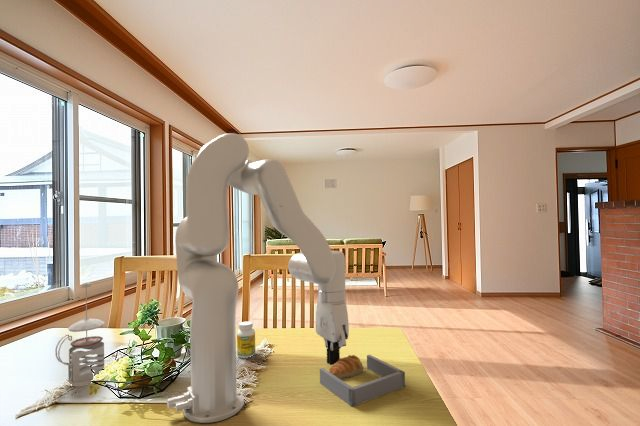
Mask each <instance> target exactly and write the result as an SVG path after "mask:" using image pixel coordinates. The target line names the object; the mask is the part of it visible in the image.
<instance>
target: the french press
mask: <svg viewBox="0 0 640 426" xmlns="http://www.w3.org/2000/svg"><path fill="white" fill-rule="evenodd" d="M91 286H92V285H91V283H90V282H84V283H82V285H81V288H83V289H85V319H80V320H78V321H77V322H74V323H72V324H71V325H70V326H68V327H67V329H68V331H69V332H73V333H77V332H78V333H79V332H85V334H86V335H85V337H80V338H78V339H75V340H73V336H72V335H69V334H65V335H64V336H62V337H61V339H60V340H59V341H58V343H57V345H55V351H54V352H55V357H56V359H57V361H58V362H59V363H61V364H63V365H66V366H68V371H67V372H68V378H67V379H66V380H65V381H68V382H69V383H70V384H72V385H73V386H76V388H77V387H83V386H89V385H92V384H91V380H92V378H93V374H92V372H91V369H92V370H94V371H95V372H94V376H95V375H96V374H97V373H99V371H100V370H101V369H103V368H104V369H105V343H104V342H103V340H104V337H102V336H99V335H96V336H93V335H91V336H88V331H91V330H96V329H99V328H101V327H103V326H104V325H105V324H106V323H105V321H103V320H101V319H99V318H98V319H97V318H88V299H87V297H88V296H87V295H88V294H87V293H88V290H87V289H88V288H90V287H91ZM62 340H63V341H62ZM66 340H68V341H70V346H71V347H70V348H69V349H68V362H66V361H62V358H61V356H60V352H61V351H60V350H61V348H62V345H63V343H64V342H65V341H66ZM61 341H62V342H61ZM60 342H61V343H60ZM58 347H59V348H58ZM77 349H78V350H77ZM79 349H83V350H79ZM75 350H77V351H75ZM85 350H86V351H85ZM89 355H91V356H89ZM93 355H96V356H93ZM92 360H93V361H92ZM90 366H93V367H90Z"/></svg>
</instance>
